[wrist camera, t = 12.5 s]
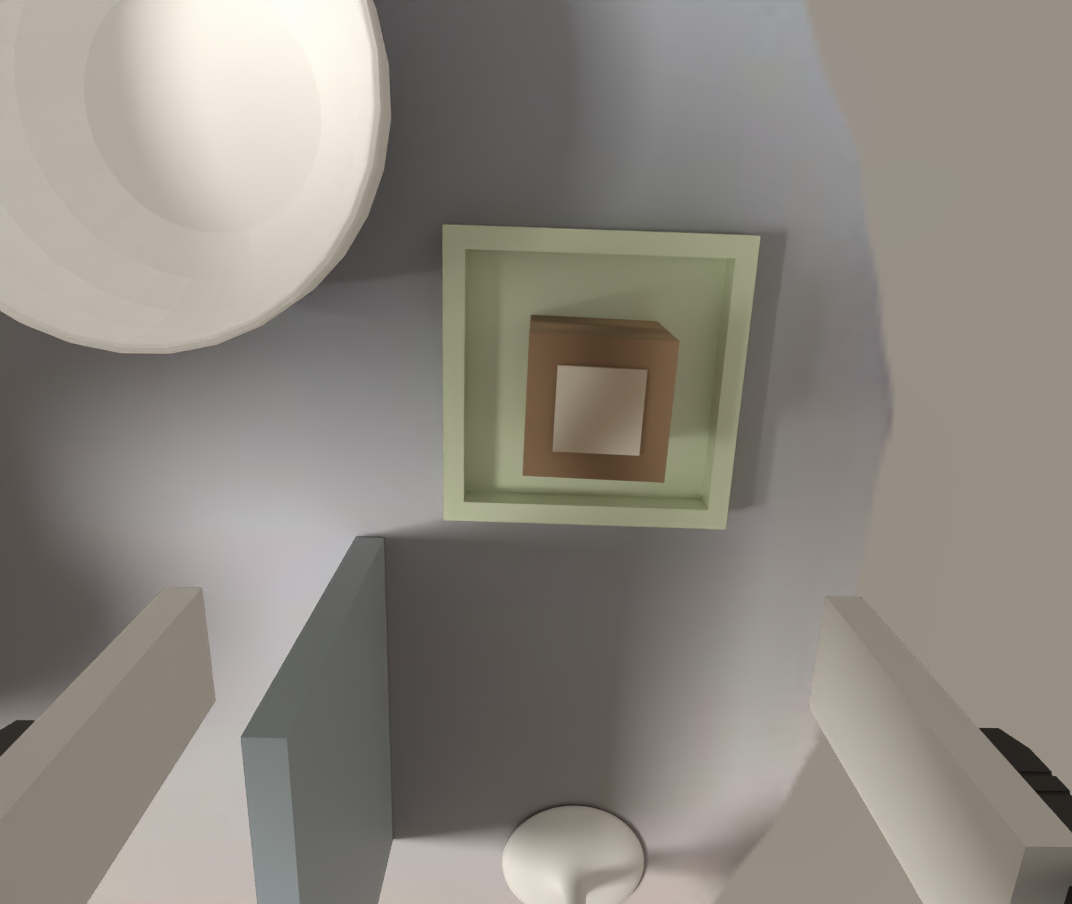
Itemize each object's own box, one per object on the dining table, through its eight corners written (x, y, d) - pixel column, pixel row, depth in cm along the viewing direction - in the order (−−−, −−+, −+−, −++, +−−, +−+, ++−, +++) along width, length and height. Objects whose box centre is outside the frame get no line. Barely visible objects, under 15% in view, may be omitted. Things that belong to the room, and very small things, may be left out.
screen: (392, 839, 46) (319, 1152, 30) (368, 839, 46) (281, 1151, 30) (384, 537, 40) (286, 738, 24) (355, 536, 40) (240, 737, 24)
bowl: (496, 206, 35) (482, 203, 26) (163, 390, 37) (55, 439, 29) (270, -238, 30) (166, -414, 21) (-96, 10, 32) (-315, -61, 24)
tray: (448, 504, 39) (443, 520, 37) (447, 224, 35) (442, 224, 33) (716, 513, 39) (725, 529, 37) (747, 234, 35) (760, 235, 33)
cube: (524, 435, 37) (522, 477, 31) (530, 314, 36) (529, 334, 30) (645, 442, 37) (665, 484, 31) (657, 320, 36) (680, 341, 30)
